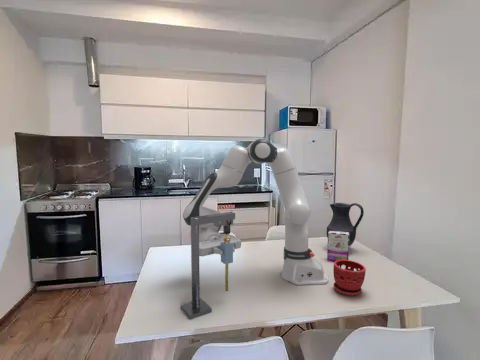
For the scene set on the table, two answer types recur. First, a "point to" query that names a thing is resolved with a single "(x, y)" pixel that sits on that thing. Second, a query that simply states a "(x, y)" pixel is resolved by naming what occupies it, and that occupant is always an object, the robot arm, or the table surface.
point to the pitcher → (344, 220)
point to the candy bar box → (338, 246)
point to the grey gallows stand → (197, 304)
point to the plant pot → (348, 277)
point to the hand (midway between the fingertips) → (228, 251)
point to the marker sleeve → (227, 253)
